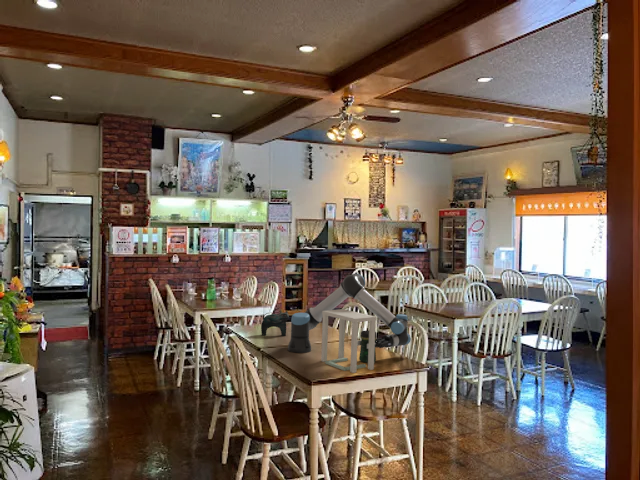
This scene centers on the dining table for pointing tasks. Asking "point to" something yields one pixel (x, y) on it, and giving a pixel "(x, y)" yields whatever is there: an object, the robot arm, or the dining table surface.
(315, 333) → the dining table surface
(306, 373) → the dining table surface
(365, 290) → the robot arm
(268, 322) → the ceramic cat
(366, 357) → the dark green bottle
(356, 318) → the cream stool
